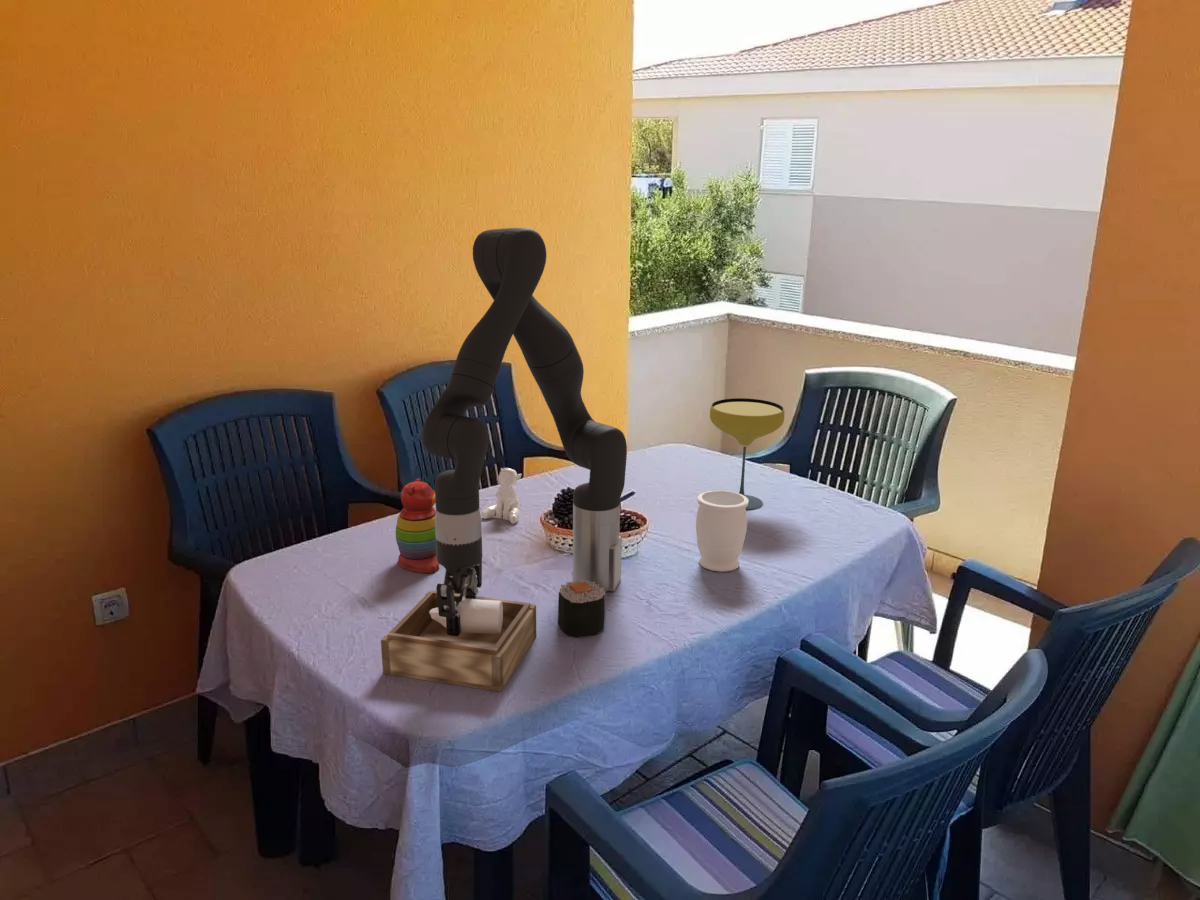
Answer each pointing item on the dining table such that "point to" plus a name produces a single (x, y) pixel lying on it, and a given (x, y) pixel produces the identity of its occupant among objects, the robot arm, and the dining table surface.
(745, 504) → the jar
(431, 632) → the upper crate
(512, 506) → the sitting furry creature
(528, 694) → the dining table surface
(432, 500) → the stacking bear
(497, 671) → the box
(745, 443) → the cocktail glass
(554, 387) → the robot arm
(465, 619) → the roll
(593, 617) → the sushi
